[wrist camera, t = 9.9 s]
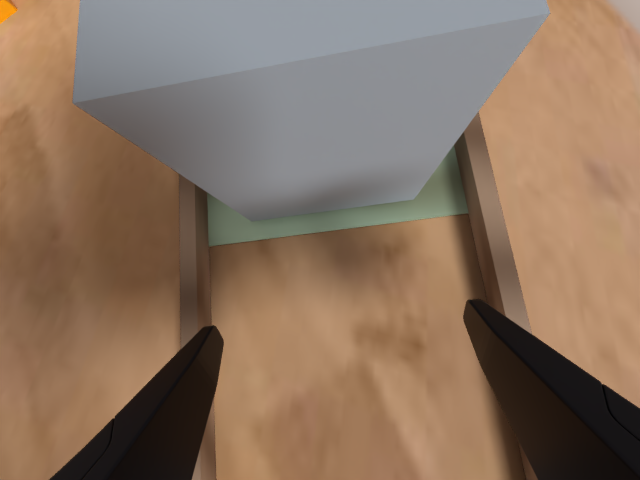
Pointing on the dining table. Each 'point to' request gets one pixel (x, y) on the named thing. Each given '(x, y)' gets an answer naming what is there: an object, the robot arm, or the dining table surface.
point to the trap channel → (432, 201)
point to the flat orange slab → (6, 9)
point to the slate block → (297, 90)
